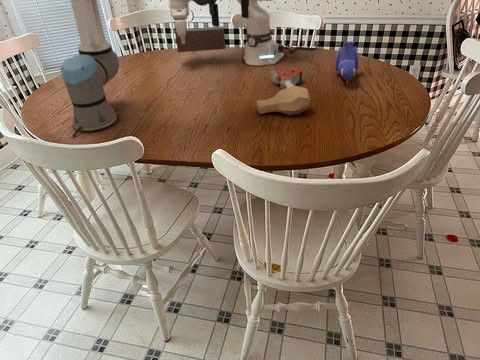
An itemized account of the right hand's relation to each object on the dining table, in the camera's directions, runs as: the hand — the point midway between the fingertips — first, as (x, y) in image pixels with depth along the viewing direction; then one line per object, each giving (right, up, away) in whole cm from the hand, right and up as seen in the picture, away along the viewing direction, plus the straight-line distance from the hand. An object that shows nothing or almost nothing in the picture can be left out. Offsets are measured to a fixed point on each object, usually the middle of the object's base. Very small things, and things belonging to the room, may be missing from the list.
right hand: (183, 41), depth 176 cm
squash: (+44, -43, -44) cm, 76 cm away
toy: (+74, -24, -21) cm, 81 cm away
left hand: (+25, -15, -56) cm, 63 cm away
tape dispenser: (+48, -29, -25) cm, 61 cm away
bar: (+9, -3, +3) cm, 9 cm away
